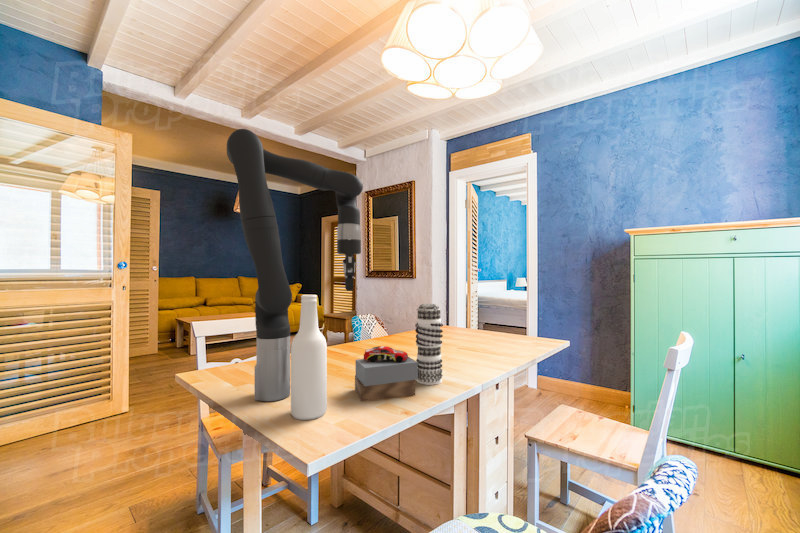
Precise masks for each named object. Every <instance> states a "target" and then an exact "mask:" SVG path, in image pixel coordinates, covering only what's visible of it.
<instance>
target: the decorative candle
mask: <svg viewBox="0 0 800 533" xmlns="http://www.w3.org/2000/svg"><path fill="white" fill-rule="evenodd" d="M441 310H442V308H441V307H440V306H439V305H438V304H436V303H422V304H420V305H419V307H418V308H416V311H417V318H416V323H415V330H414V332H415V333H416V334H415V338H416V340H415V343H416V346H417V354H416V360H415V361H417V362H418V379H417V380H416V382H417V383H418V384H421V385H424V386H426V385H427V386H432V385H434V384H435V385H439V384H442V383H443V379H442V378H443V369H442V368H443V364H442V363H443V359H442V353H441V350H442V349H441V347H442V346H443V340H441V338H442V337H443V334H442V333H443V332H444V331H443V330H442V329H441V328H442V327H443V326H444V324H443V323H442V318H441Z"/></svg>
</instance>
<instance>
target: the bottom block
mask: <svg viewBox="0 0 800 533" xmlns="http://www.w3.org/2000/svg"><path fill="white" fill-rule="evenodd" d="M354 390H355V393H356V395H357V397H358V399H359V401H360V402H367V401H368V402H369V401H377V400H385V399H396V398H403V397H413V395H415V396H416V380H410V381H402V382H394V383H387V384H379V385H372V386H364V385H363V384H362V383H361V382H360V381H359V379H358V378H357V377H356V374H355V375H354Z"/></svg>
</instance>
